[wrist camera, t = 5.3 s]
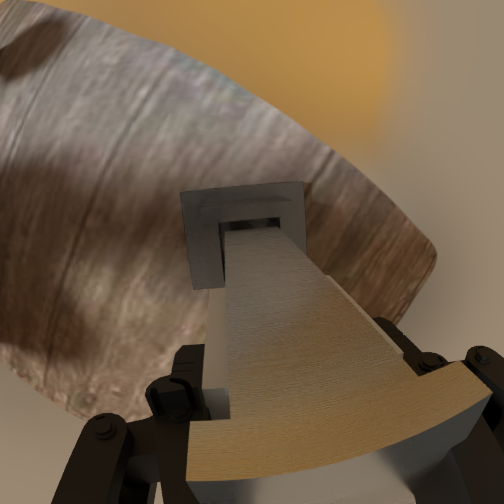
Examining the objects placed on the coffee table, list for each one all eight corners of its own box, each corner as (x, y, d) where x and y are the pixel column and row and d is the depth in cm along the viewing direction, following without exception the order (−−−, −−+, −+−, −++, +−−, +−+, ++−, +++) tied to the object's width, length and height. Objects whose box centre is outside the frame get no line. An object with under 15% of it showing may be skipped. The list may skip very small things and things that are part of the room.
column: (223, 290, 23) (235, 551, 4) (215, 224, 21) (186, 481, 3) (287, 283, 23) (410, 507, 5) (284, 218, 22) (492, 392, 3)
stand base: (196, 297, 30) (177, 400, 15) (181, 192, 27) (133, 213, 12) (304, 285, 31) (365, 373, 16) (300, 181, 28) (380, 192, 13)
